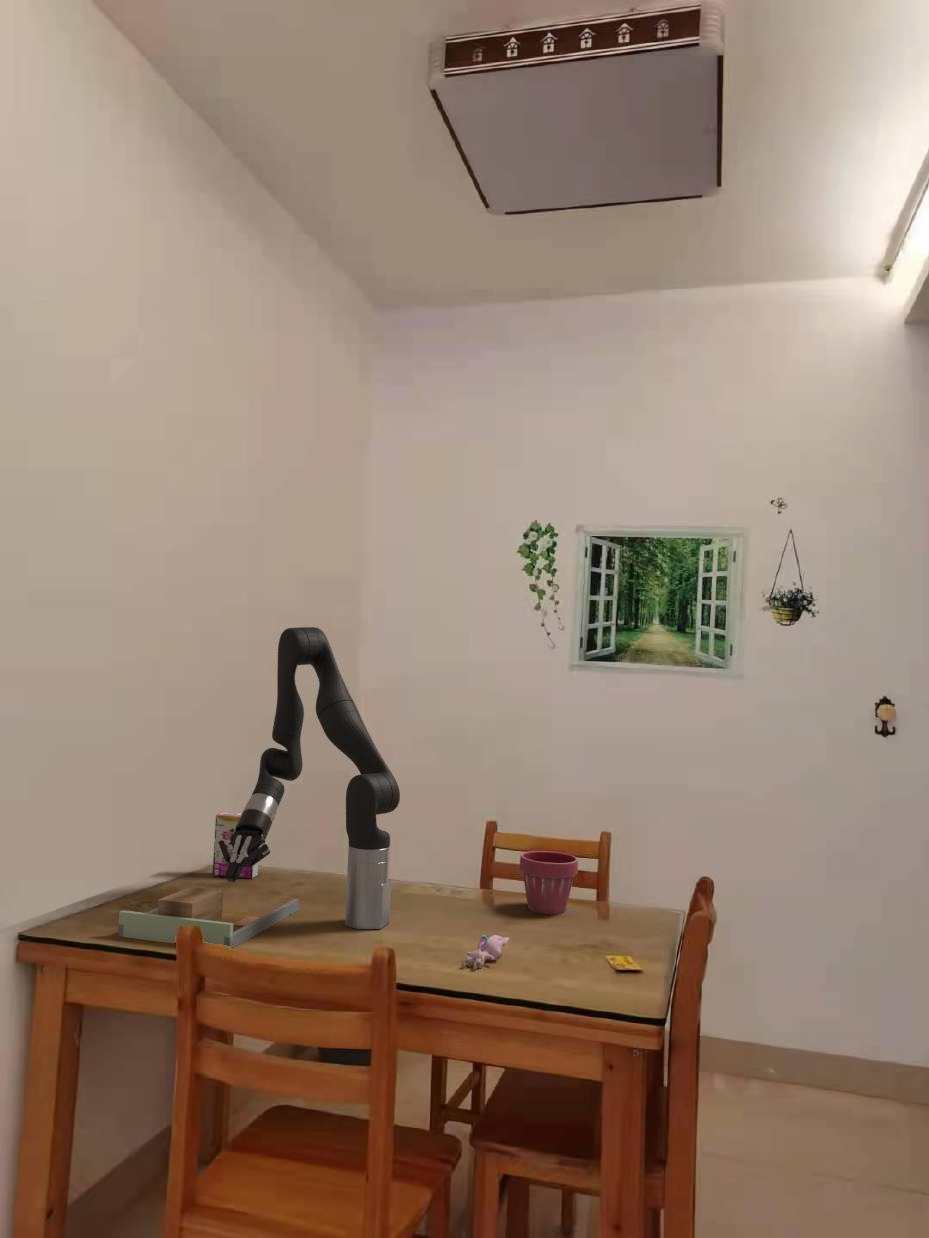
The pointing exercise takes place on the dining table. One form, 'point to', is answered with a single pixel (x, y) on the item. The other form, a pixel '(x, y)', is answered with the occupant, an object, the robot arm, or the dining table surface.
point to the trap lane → (213, 931)
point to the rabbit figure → (485, 951)
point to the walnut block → (193, 904)
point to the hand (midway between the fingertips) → (230, 879)
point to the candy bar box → (223, 832)
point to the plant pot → (548, 880)
